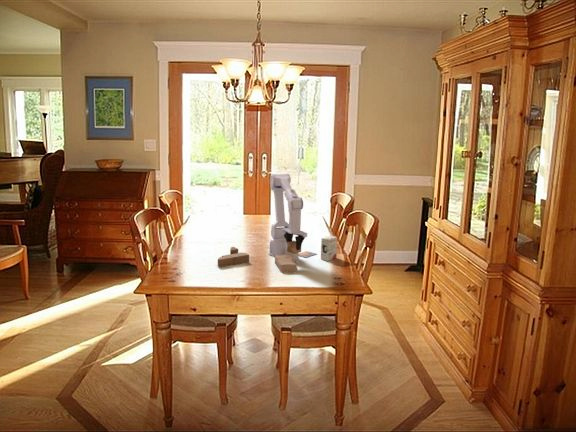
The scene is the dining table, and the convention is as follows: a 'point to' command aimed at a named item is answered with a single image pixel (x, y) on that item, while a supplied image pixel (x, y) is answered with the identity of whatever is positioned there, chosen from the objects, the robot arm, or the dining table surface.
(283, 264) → the brick
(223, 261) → the wooden block set
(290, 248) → the walnut block
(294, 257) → the cream cube
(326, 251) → the ink box
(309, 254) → the card
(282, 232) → the robot arm
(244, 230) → the dining table surface
